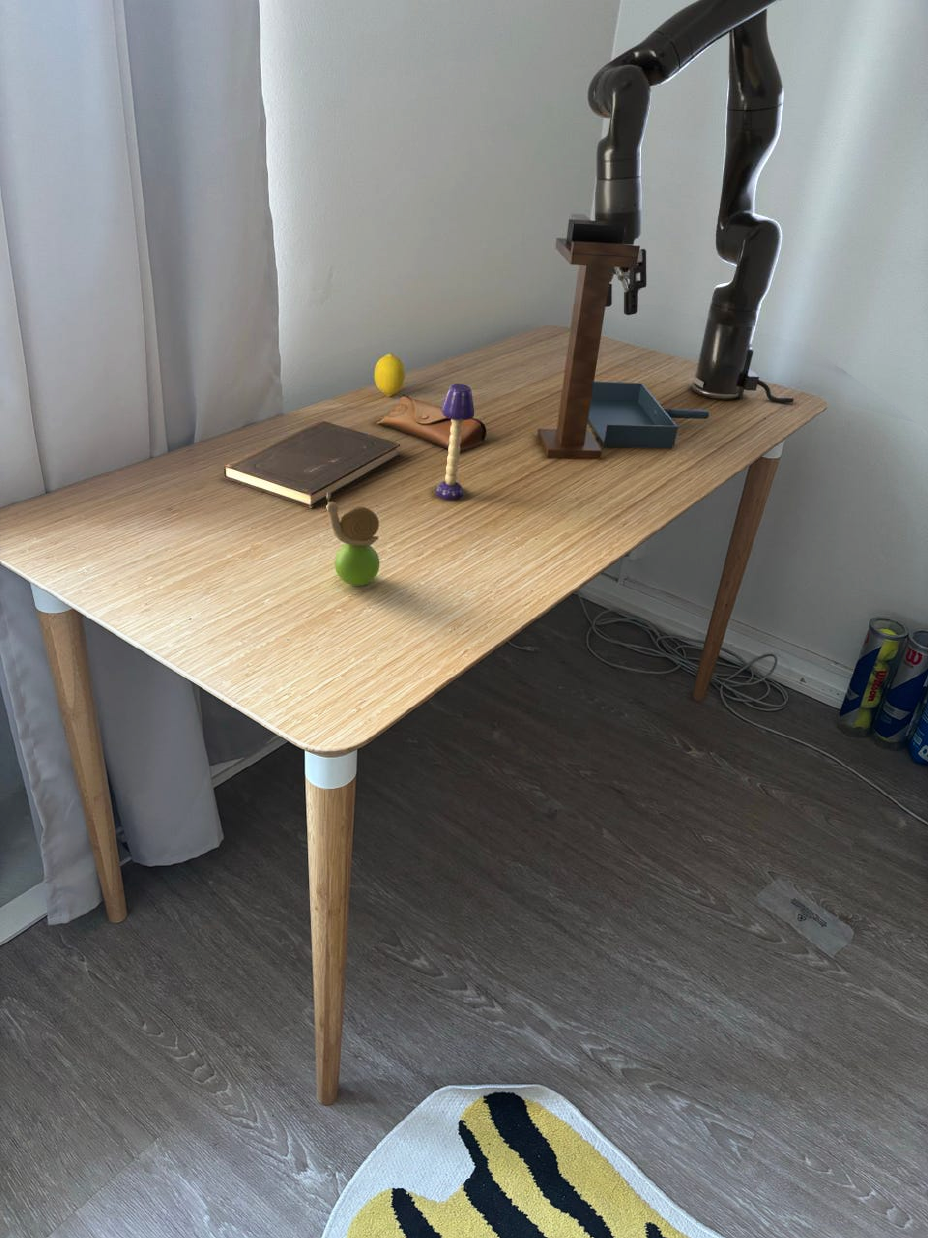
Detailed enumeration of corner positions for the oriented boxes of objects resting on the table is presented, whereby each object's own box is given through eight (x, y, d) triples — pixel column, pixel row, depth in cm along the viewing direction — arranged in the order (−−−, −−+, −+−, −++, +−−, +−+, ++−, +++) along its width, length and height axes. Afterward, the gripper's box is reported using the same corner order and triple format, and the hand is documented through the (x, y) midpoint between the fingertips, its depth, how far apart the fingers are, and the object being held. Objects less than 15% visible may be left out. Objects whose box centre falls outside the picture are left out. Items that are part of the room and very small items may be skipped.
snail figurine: (327, 570, 117) (326, 483, 110) (378, 571, 117) (381, 485, 111) (325, 593, 112) (325, 504, 105) (379, 594, 113) (381, 505, 106)
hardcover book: (399, 457, 148) (400, 443, 146) (311, 508, 130) (311, 493, 129) (318, 432, 154) (318, 419, 152) (223, 478, 136) (222, 464, 135)
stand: (588, 434, 162) (620, 230, 144) (603, 460, 153) (640, 245, 134) (532, 433, 160) (557, 226, 142) (544, 459, 151) (573, 241, 133)
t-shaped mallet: (551, 226, 150) (554, 205, 148) (599, 229, 151) (602, 208, 150) (570, 245, 138) (573, 223, 137) (622, 248, 140) (625, 226, 138)
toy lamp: (471, 492, 139) (480, 384, 130) (461, 504, 135) (470, 394, 126) (441, 485, 140) (448, 378, 131) (430, 498, 136) (437, 388, 127)
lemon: (406, 392, 172) (407, 350, 168) (401, 403, 168) (403, 359, 163) (376, 389, 173) (377, 347, 168) (371, 400, 168) (372, 356, 164)
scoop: (604, 446, 158) (607, 424, 156) (575, 400, 176) (578, 380, 174) (727, 449, 161) (732, 428, 159) (687, 404, 179) (691, 384, 177)
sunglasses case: (372, 422, 158) (385, 384, 157) (393, 432, 164) (407, 396, 163) (458, 452, 150) (473, 413, 149) (477, 462, 156) (491, 424, 155)
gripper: (661, 208, 146) (659, 313, 154) (616, 202, 158) (615, 300, 166) (620, 213, 144) (619, 320, 152) (576, 207, 156) (578, 306, 164)
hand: (617, 310), depth 159 cm, fingers open, 8 cm apart
